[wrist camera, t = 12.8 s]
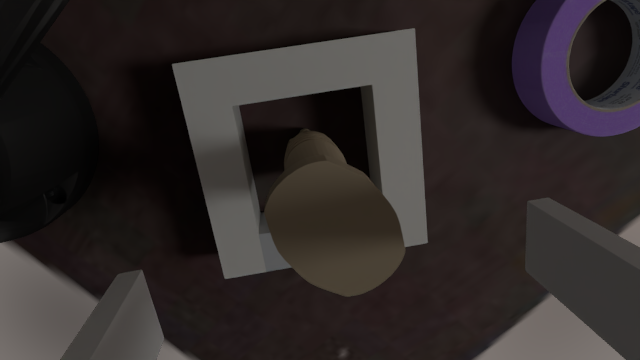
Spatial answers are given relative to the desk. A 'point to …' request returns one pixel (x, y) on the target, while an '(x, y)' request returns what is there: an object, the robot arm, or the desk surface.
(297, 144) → the handle
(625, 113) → the masking tape
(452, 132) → the desk surface
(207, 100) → the socket
